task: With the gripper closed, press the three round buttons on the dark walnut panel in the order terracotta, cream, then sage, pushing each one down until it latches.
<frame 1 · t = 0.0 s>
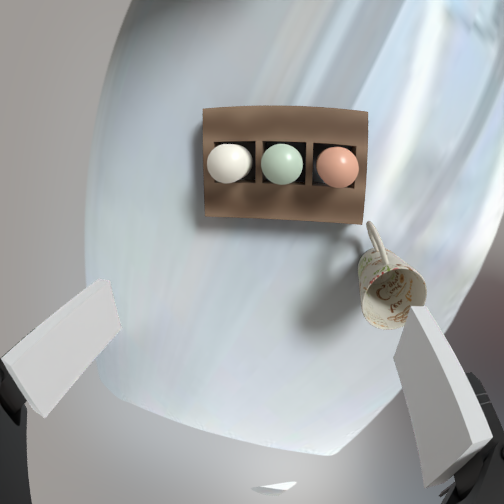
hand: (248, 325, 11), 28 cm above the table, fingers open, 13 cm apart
button panel: (285, 161, 35), on the table
mug: (372, 253, 37), on the table
button sage: (283, 163, 30), point 5 cm above the table, slide at 0.0 cm
button cream: (230, 162, 31), point 5 cm above the table, slide at 0.0 cm
button terracotta: (336, 166, 29), point 5 cm above the table, slide at 0.0 cm
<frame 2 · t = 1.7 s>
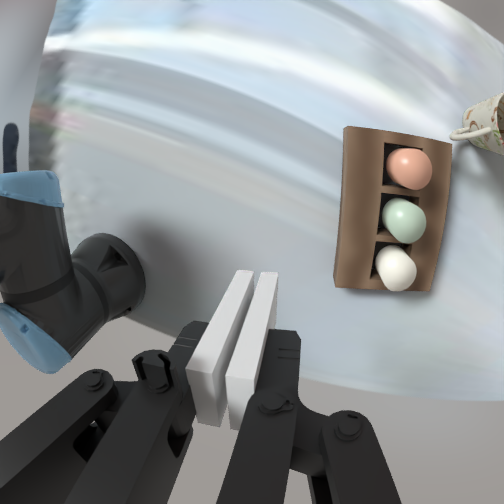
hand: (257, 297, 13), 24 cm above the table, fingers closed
button panel: (390, 209, 33), on the table
mug: (467, 130, 27), on the table
button sage: (403, 219, 28), point 5 cm above the table, slide at 0.0 cm
button cream: (395, 267, 31), point 5 cm above the table, slide at 0.0 cm
button terracotta: (408, 167, 26), point 5 cm above the table, slide at 0.0 cm
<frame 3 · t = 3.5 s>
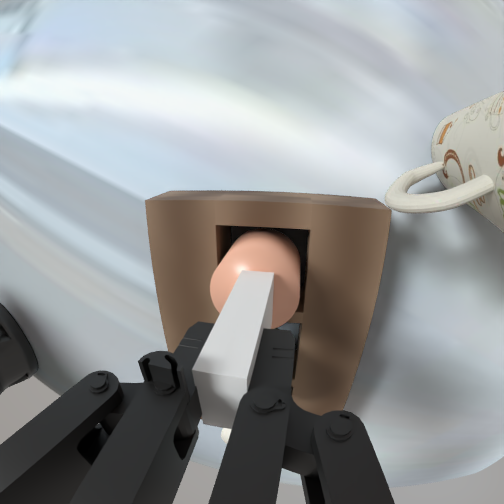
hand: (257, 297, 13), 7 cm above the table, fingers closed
button panel: (266, 322, 21), on the table
mug: (441, 163, 15), on the table
button cream: (255, 420, 19), point 5 cm above the table, slide at 0.0 cm
button terracotta: (259, 276, 15), point 4 cm above the table, slide at 1.0 cm, touching gripper
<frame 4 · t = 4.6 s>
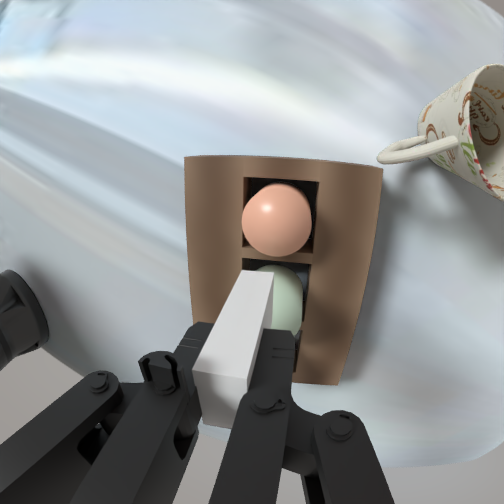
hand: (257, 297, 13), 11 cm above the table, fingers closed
button panel: (278, 272, 25), on the table
mug: (426, 140, 18), on the table
button sage: (271, 303, 20), point 5 cm above the table, slide at 0.0 cm
button terracotta: (279, 216, 19), point 4 cm above the table, slide at 1.6 cm
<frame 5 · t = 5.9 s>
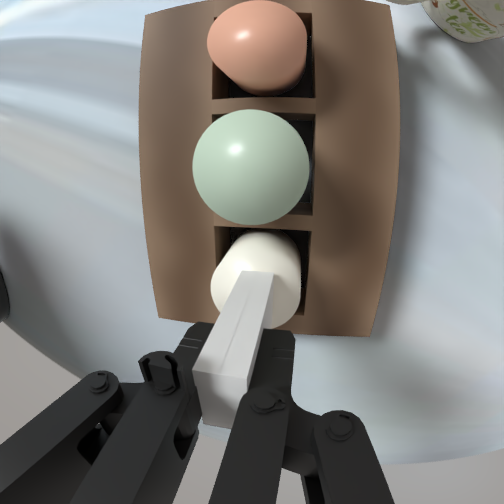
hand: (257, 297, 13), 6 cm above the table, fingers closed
button panel: (269, 160, 17), on the table
mug: (432, 12, 10), on the table
button sage: (257, 164, 12), point 5 cm above the table, slide at 0.0 cm
button cream: (260, 276, 15), point 4 cm above the table, slide at 1.5 cm, touching gripper
button terracotta: (261, 50, 11), point 4 cm above the table, slide at 1.6 cm
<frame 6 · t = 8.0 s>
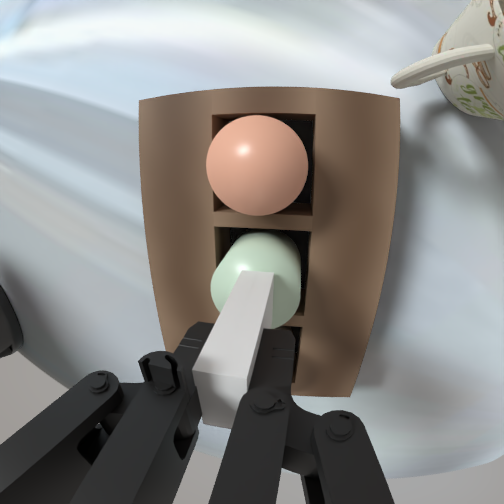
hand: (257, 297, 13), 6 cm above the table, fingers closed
button panel: (268, 251, 19), on the table
mug: (443, 81, 12), on the table
button sage: (260, 276, 15), point 4 cm above the table, slide at 1.5 cm, touching gripper
button cream: (259, 356, 18), point 4 cm above the table, slide at 1.6 cm
button terracotta: (262, 163, 13), point 4 cm above the table, slide at 1.6 cm
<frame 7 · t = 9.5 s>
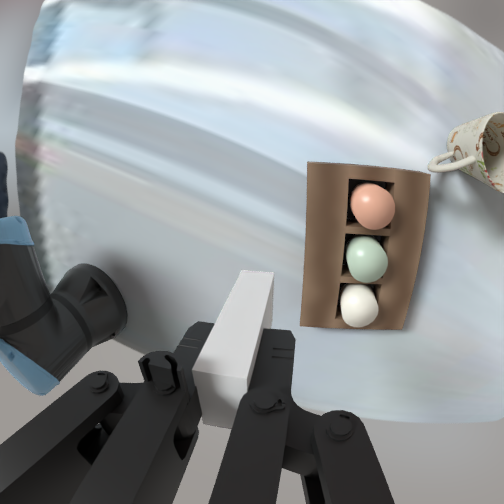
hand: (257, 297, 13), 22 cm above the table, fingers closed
button panel: (360, 246, 33), on the table
mug: (452, 153, 26), on the table
button sage: (365, 257, 30), point 4 cm above the table, slide at 1.6 cm
button cream: (358, 303, 32), point 4 cm above the table, slide at 1.6 cm
button terracotta: (371, 204, 27), point 4 cm above the table, slide at 1.6 cm
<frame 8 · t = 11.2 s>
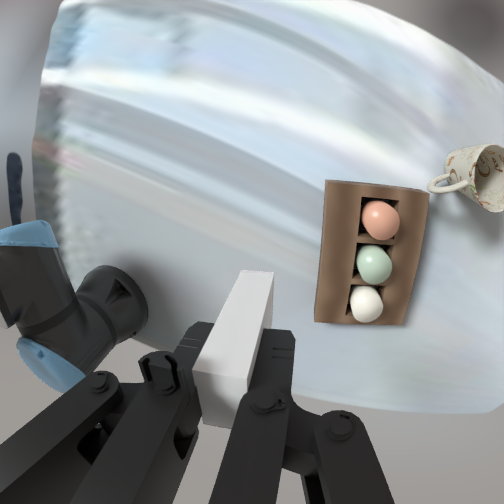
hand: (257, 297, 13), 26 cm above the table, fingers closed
button panel: (367, 252, 38), on the table
mug: (448, 173, 32), on the table
button sage: (372, 262, 35), point 4 cm above the table, slide at 1.6 cm
button cream: (365, 301, 37), point 4 cm above the table, slide at 1.6 cm
button terracotta: (379, 218, 32), point 4 cm above the table, slide at 1.6 cm
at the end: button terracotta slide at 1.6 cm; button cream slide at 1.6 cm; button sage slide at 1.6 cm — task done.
